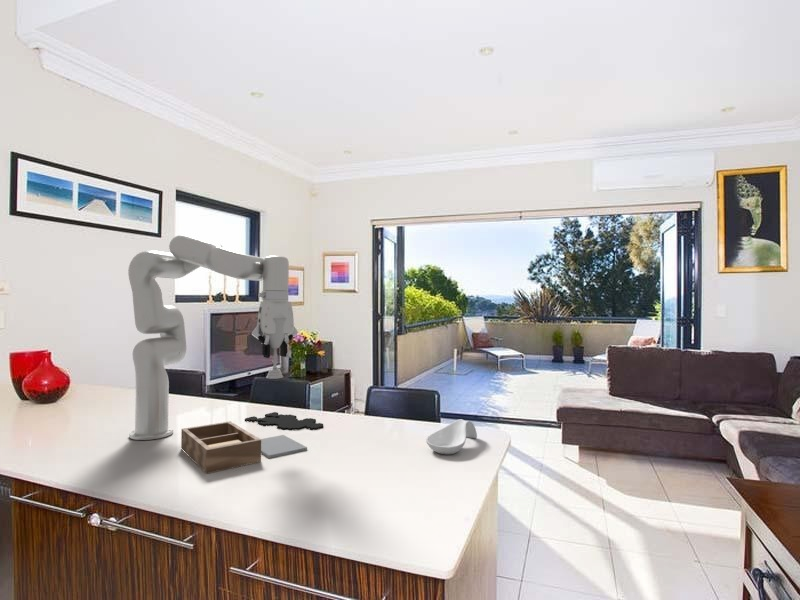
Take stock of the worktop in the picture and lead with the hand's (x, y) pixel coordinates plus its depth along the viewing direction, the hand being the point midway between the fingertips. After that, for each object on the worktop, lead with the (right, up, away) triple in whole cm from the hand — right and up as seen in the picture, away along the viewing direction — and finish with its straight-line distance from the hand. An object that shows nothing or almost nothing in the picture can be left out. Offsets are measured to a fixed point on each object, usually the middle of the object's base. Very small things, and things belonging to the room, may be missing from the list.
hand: (275, 356), depth 139 cm
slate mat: (+1, -28, 0) cm, 28 cm away
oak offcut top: (-10, -26, -12) cm, 30 cm away
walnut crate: (-14, -27, -8) cm, 32 cm away
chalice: (0, -7, 0) cm, 7 cm away
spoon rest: (+55, -29, +4) cm, 62 cm away
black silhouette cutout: (-3, -28, +28) cm, 40 cm away
